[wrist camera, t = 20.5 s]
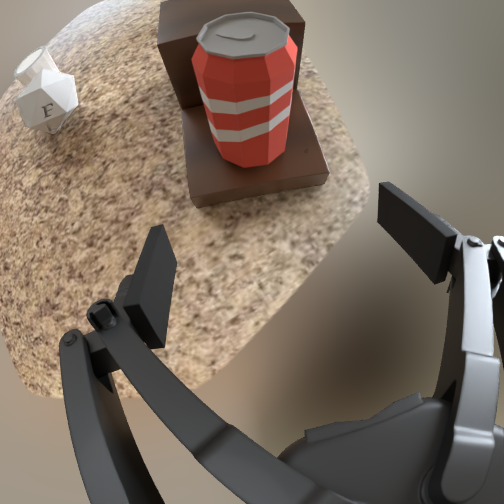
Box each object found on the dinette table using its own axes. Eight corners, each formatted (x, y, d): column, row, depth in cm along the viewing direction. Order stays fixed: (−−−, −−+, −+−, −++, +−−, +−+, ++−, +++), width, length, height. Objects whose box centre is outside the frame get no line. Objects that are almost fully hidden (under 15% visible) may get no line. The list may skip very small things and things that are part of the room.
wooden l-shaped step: (181, 68, 29) (160, 2, 18) (274, 52, 29) (276, -16, 18) (196, 208, 25) (155, 143, 14) (324, 184, 25) (358, 110, 14)
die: (32, 150, 29) (14, 134, 20) (25, 98, 26) (9, 72, 18) (83, 128, 32) (78, 106, 24) (74, 79, 30) (70, 47, 21)
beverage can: (236, 107, 25) (223, 3, 13) (298, 130, 24) (316, 23, 12) (202, 153, 24) (165, 50, 12) (268, 182, 23) (271, 75, 11)
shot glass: (30, 105, 30) (9, 83, 24) (36, 82, 32) (18, 61, 25) (61, 85, 31) (40, 59, 24) (65, 63, 32) (48, 39, 25)
